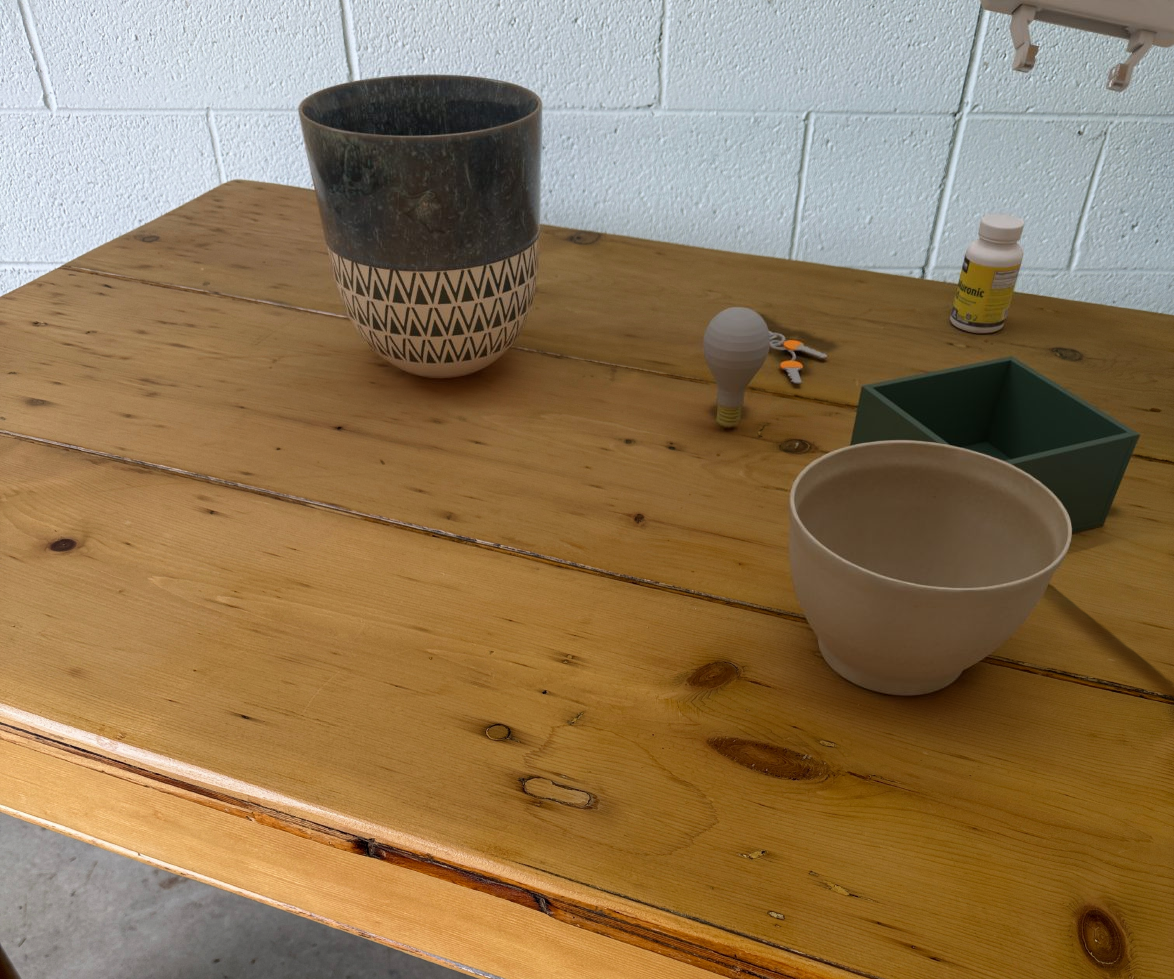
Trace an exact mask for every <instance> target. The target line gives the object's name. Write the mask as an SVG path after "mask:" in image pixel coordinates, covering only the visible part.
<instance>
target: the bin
mask: <svg viewBox="0 0 1174 979" xmlns="http://www.w3.org/2000/svg"><path fill="white" fill-rule="evenodd" d="M1140 436H1141V434H1140V433H1139V432H1137V431H1136V430H1134V429H1132V428H1131V427H1129V426H1128V425H1126V424H1124V423H1123V422H1121V421H1119V420H1117V418H1115V417H1113V416H1111V415H1109V414H1107V413H1106V412H1105V411H1103V410H1101V409H1100V408H1098V407H1096V406H1095V405H1093V404H1092V403H1090V402H1088V401H1087V400H1085V399H1084V398H1081V397H1080V396H1078V395H1077V394H1075V393H1073V392H1072V391H1070V390H1068V389H1067V388H1065V387H1063V385H1060V384H1059V383H1057V382H1056V381H1054V380H1052V379H1050V378H1049V377H1047V376H1046V375H1044V374H1042V373H1041V372H1039V371H1037V370H1036V369H1034V368H1032V367H1031V366H1029V365H1028V364H1026V363H1024V362H1023V361H1021V360H1019V359H1018V358H1016V357H1014V356H1013V355H1010V356H1006V357H1000V358H996V359H995V358H994V359H990V360H985V361H984V360H983V361H980V362H975V363H969V364H965V365H960V366H955V367H949V368H945V369H940V370H935V371H930V372H929V371H928V372H923V373H919V374H915V375H909V376H903V377H899V378H893V379H889V380H883V381H878V382H874V383H869V384H863V385H861V389H860V393H859V397H858V403H857V408H856V413H855V419H854V423H853V428H852V433H851V439H850V444H849V446H852V445H856V444H862V443H869V442H876V441H890V440H911V441H923V442H933V443H940V444H946V445H951V446H955V447H960V448H964V449H968V450H971V451H975V452H978V453H982V454H985V455H988V456H991V457H994V458H997V459H999V460H1002V461H1004V462H1007V463H1009V464H1011V465H1013V466H1015V467H1017V468H1019V469H1021V470H1023V471H1024V472H1026V473H1028V474H1029V475H1031V476H1032V477H1034V478H1035V479H1037V480H1038V481H1040V482H1041V483H1042V484H1043V485H1044V486H1046V487H1047V488H1048V489H1049V490H1050V491H1051V492H1053V494H1054V495H1055V496H1056V497H1057V498H1058V499H1059V501H1060V502H1061V503H1062V504H1063V506H1064V508H1065V509H1066V511H1067V513H1068V515H1069V518H1070V521H1071V526H1072V535H1073V534H1078V533H1080V532H1085V531H1089V530H1092V529H1096V528H1100V527H1103V526H1104V525H1105V522H1106V520H1107V517H1108V515H1109V512H1110V510H1111V507H1112V506H1113V503H1114V501H1115V497H1116V495H1117V494H1118V491H1119V488H1120V485H1121V483H1122V481H1123V477H1124V476H1125V473H1126V471H1127V468H1128V465H1129V463H1130V461H1131V458H1132V455H1133V453H1134V451H1135V449H1136V446H1137V444H1138V441H1139V439H1140Z"/></svg>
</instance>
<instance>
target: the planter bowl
mask: <svg viewBox="0 0 1174 979" xmlns="http://www.w3.org/2000/svg"><path fill="white" fill-rule="evenodd" d="M788 514H789V530H788V531H789V532H788V558H789V570H790V575H791V581H792V585H793V588H794V592H795V596H796V598H797V601H798V603H799V606H800V609H801V611H802V613H803V615H804V617H805V619H806V621H807V623H808V625H809V626H810V628H811V629H812V631H813V632H814V634H815V635H816V637H817V644H818V649H819V652H820V653H821V656H822V658H823V659H824V661H825V662H826V663H827V665H828V666H829V667H830V668H831V669H832V670H833V671H834V672H835V673H837V674H838V675H839V676H841V677H842V678H843V679H846V680H847V681H849V682H851V683H852V684H854V685H856V686H859V687H861V688H864V689H867V690H870V691H873V692H878V693H881V694H886V695H892V696H921V695H928V694H930V693H934V692H937V691H940V690H942V689H944V688H946V687H949V686H950V685H951V684H952V683H954V682H955V681H956V680H957V679H958V678H959V677H960V676H961V674H962V673H963V671H964V670H967V669H968V668H971V667H972V666H974V665H975V664H977V663H979V662H981V661H982V660H984V659H985V658H987V657H988V656H990V655H991V654H992V653H994V652H995V651H996V650H997V649H999V648H1000V647H1001V646H1002V645H1003V644H1004V643H1005V642H1007V641H1008V640H1009V639H1010V637H1012V636H1013V635H1014V633H1016V631H1018V629H1019V628H1020V627H1021V626H1022V625H1023V624H1024V622H1026V620H1027V619H1028V618H1029V617H1030V615H1031V614H1032V612H1033V611H1034V610H1035V608H1036V607H1037V606H1038V603H1039V601H1040V600H1041V599H1042V597H1043V595H1044V593H1045V592H1046V590H1047V588H1048V586H1049V584H1050V582H1051V580H1052V578H1053V575H1054V574H1055V573H1056V571H1057V570H1058V569H1059V567H1060V566H1061V565H1062V563H1063V561H1064V560H1065V558H1066V555H1067V553H1068V551H1069V549H1070V547H1071V543H1072V537H1073V534H1072V526H1071V521H1070V518H1069V515H1068V513H1067V511H1066V509H1065V508H1064V506H1063V504H1062V503H1061V502H1060V501H1059V499H1058V498H1057V497H1056V496H1055V495H1054V494H1053V492H1051V491H1050V490H1049V489H1048V488H1047V487H1046V486H1044V485H1043V484H1042V483H1041V482H1040V481H1038V480H1037V479H1035V478H1034V477H1032V476H1031V475H1029V474H1028V473H1026V472H1024V471H1023V470H1021V469H1019V468H1017V467H1015V466H1013V465H1011V464H1009V463H1007V462H1004V461H1002V460H999V459H997V458H994V457H991V456H988V455H985V454H982V453H978V452H975V451H971V450H968V449H964V448H960V447H955V446H951V445H946V444H940V443H933V442H923V441H911V440H890V441H876V442H869V443H862V444H856V445H852V446H850V445H849V446H845V447H840V448H838V449H835V450H832V451H830V452H828V453H826V454H824V455H822V456H820V457H818V458H816V459H814V460H813V461H811V462H810V463H809V464H808V465H806V467H804V468H803V470H802V471H800V473H799V474H798V475H797V476H796V478H795V480H794V481H793V483H792V486H791V489H790V492H789V500H788Z"/></svg>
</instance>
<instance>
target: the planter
mask: <svg viewBox="0 0 1174 979" xmlns="http://www.w3.org/2000/svg"><path fill="white" fill-rule="evenodd" d="M297 112H298V118H299V124H300V129H301V133H302V139H303V144H304V149H305V154H306V157H307V163H308V167H309V171H310V175H311V180H312V184H313V189H314V193H315V199H316V203H317V208H318V213H319V219H320V224H321V227H322V232H323V237H324V240H325V245H326V249H327V253H328V254H327V255H328V259H329V264H330V268H331V272H332V276H333V279H334V284H335V288H336V290H337V293H338V296H339V298H340V301H341V303H342V306H343V308H344V310H345V313H346V314H347V318H348V319H349V321H350V323H351V324H352V326H353V328H354V330H355V331H356V333H357V335H359V336H360V338H361V339H362V341H364V342H365V343H366V345H367V346H368V347H369V348H370V349H371V350H372V351H373V352H375V353H376V354H377V355H378V356H380V357H381V358H382V359H384V360H385V361H386V362H388V363H389V364H391V365H392V366H394V367H396V368H397V369H400V370H402V371H404V372H406V373H409V374H411V375H415V376H419V377H423V378H428V379H429V378H430V379H452V378H460V377H464V376H468V375H472V374H474V373H477V372H479V371H481V370H484V369H485V368H487V367H488V366H490V365H491V364H493V363H495V361H497V360H498V359H499V358H500V357H502V356H503V355H504V354H505V353H506V352H507V351H508V350H509V349H510V348H511V347H512V345H513V344H514V343H515V342H516V341H517V339H518V337H519V336H520V335H521V334H522V332H523V330H524V328H525V326H526V324H527V322H528V320H529V317H530V313H531V310H532V307H533V303H534V300H535V294H536V289H537V283H538V277H539V266H540V258H539V257H540V232H541V231H540V230H541V198H542V197H541V193H542V191H541V190H542V156H543V155H542V153H543V102H542V99H541V97H540V96H539V95H538V94H537V93H536V92H534V91H533V90H532V89H529V88H527V87H524V86H522V85H520V84H516V83H512V82H509V81H505V80H500V79H494V78H487V77H481V76H473V75H472V76H471V75H461V74H460V75H459V74H434V73H433V74H432V73H431V74H429V73H428V74H404V75H403V74H401V75H388V76H379V77H371V78H364V79H357V80H353V81H348V82H343V83H339V84H335V85H332V86H329V87H325V88H322V89H321V90H318V91H315V92H313V93H311V94H310V95H308V96H307V97H305V98H304V99H303V100H302V101H301V102H300V103H299V105H298V108H297Z"/></svg>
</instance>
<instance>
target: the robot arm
mask: <svg viewBox="0 0 1174 979" xmlns="http://www.w3.org/2000/svg"><path fill="white" fill-rule="evenodd" d="M979 2H980V4H981V7H982V9H983V10H985V11H988V12H994V13H998V14H1002V15H1008V16H1011V19H1010V24H1009V32H1010V36H1011V39H1012V43H1013V47H1014V50H1015V54H1014V58H1013V62H1012V68H1011V69H1012V71H1015V72H1021V73H1026V74H1028V73H1030V71H1032V70H1033V69H1034V67H1035V65H1036V61H1037V59H1036V57H1037V55H1038V53H1039V48H1040V46H1039V45H1035V44H1032V41H1031V34H1030V29H1029V25H1030V24H1031V23H1032V22H1034V21H1036V22H1041V23H1046V24H1049V25H1055V26H1059V27H1060V26H1061V27H1065V28H1070V29H1075V30H1079V31H1083V32H1088V33H1094V34H1098V35H1103V36H1107V37H1112V38H1116V39H1122V40H1127V41H1128V42H1127V46H1126V53H1128V54H1130V55H1129V56H1128V57H1127V58H1126V59H1125V61H1124V62H1123V63H1122V62H1120V63H1117V64H1116V65H1115V66H1113V67H1112V68H1111V69H1109V72H1108V76H1107V79H1108V81H1107V82H1106V84H1105V89H1106V90H1109V91H1114V92H1118V93H1122V92H1124V91H1125V90H1126V89H1128V87H1129V85H1130V84H1131V81H1132V80H1131V79H1132V76H1133V72H1134V68H1135V67H1136V66H1137V65H1138V64H1139V63H1140V61H1141V60H1142V59H1143V58H1144V57H1145V55H1146V54H1147V53H1148V52H1149V51H1150V50H1151V48H1152V46H1156V47H1160V48H1164V49H1165V48H1166V49H1167V48H1170V47H1173V46H1174V0H979Z"/></svg>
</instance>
